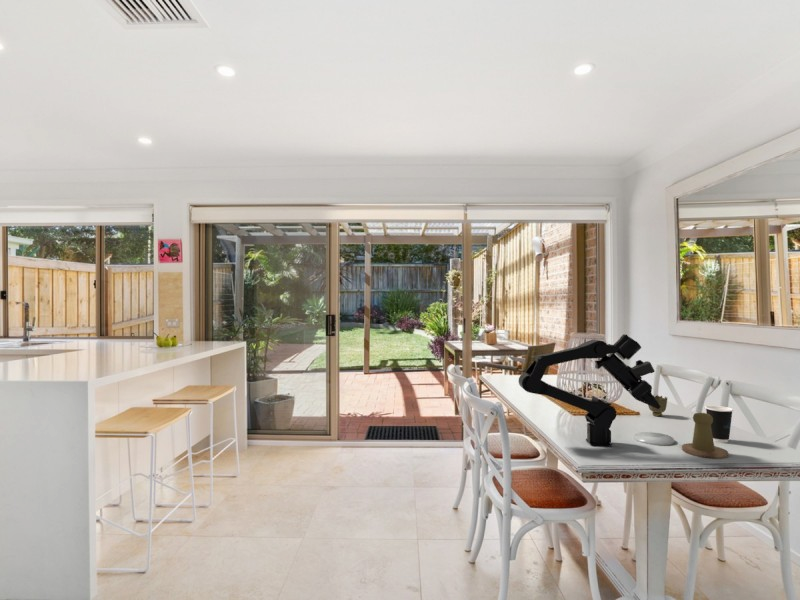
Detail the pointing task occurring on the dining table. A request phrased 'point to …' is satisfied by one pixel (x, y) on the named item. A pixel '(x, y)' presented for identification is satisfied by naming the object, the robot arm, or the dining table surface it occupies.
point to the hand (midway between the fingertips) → (656, 405)
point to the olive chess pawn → (703, 432)
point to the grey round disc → (654, 438)
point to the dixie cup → (720, 422)
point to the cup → (662, 403)
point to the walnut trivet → (705, 452)
